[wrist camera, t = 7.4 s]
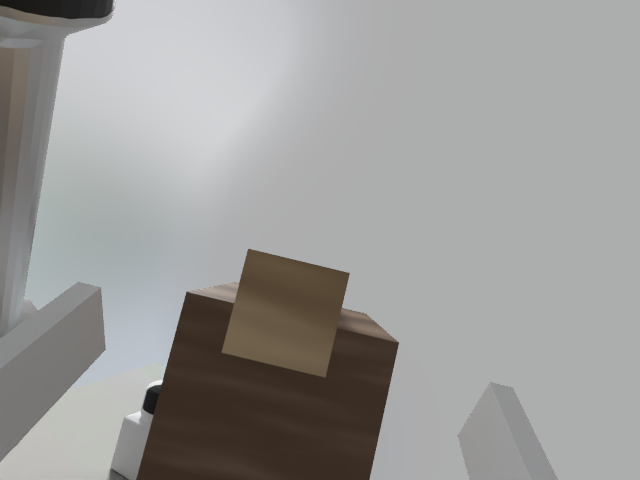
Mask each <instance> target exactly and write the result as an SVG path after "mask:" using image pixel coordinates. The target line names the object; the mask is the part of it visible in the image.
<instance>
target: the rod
mask: <svg viewBox="0 0 640 480" xmlns="http://www.w3.org/2000/svg"><path fill="white" fill-rule="evenodd" d="M348 278H349V273H346V272H343V271H339V270H334V269H330V268H326V267H322V266H318V265H314V264H309V263H305V262H301V261H297V260H293V259H289V258H284V257H280V256H276V255H272V254H268V253H264V252H259V251H255V250H251V249H248V252H247V256H246V260H245V263H244V267H243V271H242V275H241V279H240V283H239V287H238V291H237V295H236V298H235V302H234V306H233V310H232V314H231V318H230V322H229V326H228V330H227V333H226V337H225V341H224V345H223V349H222V353H225V354H230V355H234V356H238V357H242V358H246V359H250V360H255V361H259V362H263V363H267V364H271V365H275V366H280V367H284V368H288V369H292V370H296V371H300V372H305V373H309V374H313V375H317V376H321V377H326V373H327V369H328V364H329V360H330V356H331V351H332V347H333V343H334V339H335V334H336V330H337V326H338V321H339V317H340V313H341V308H342V304H343V300H344V295H345V291H346V287H347V282H348Z"/></svg>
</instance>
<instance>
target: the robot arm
mask: <svg viewBox="0 0 640 480" xmlns="http://www.w3.org/2000/svg"><path fill="white" fill-rule="evenodd" d="M115 4H116V0H0V462H1V461H2V460H3V458H4V457H5V456H6V455H7V454H8V453H9V452H10V451H11V450H12V449H13V448H14V447H15V446H16V445H17V444H18V443H19V442H20V441H21V440H22V438H23V437H24V436H25V435H26V434H27V433H28V432H29V431H30V430H31V429H32V428H33V426H34V425H35V424H36V423H37V422H38V421H39V420H40V419H41V418H42V417H43V416H44V415H45V414H46V413H47V411H48V410H49V409H50V408H51V407H52V406H53V405H54V404H55V403H56V402H57V401H58V400H59V399H60V398H61V397H62V395H63V394H64V393H65V392H66V391H67V390H68V389H69V388H70V387H71V386H72V385H73V384H74V383H75V382H76V381H77V379H78V378H79V377H80V376H81V375H82V374H83V373H84V372H85V371H86V370H87V369H88V368H89V367H90V365H91V364H92V363H93V362H94V361H95V360H96V359H97V358H98V357H99V356H100V355H101V354H102V353H103V352H104V351H105V336H104V324H103V323H104V322H103V309H102V296H101V287H97V286H93V285H89V284H84V283H80V282H77V283H76V284H75V285H73V286H72V287H71V288H69V289H68V290H66V291H65V292H64V293H62V294H61V295H60V296H58V297H57V298H55V299H54V300H53V301H51V302H50V303H49V304H47V305H46V306H44V307H43V308H42V309H40V310H39V311H37V309H36V307H35V306H34V305H33V303H32V302H31V301H30V300H29V299H28V298H27V297H26V296H25V295H24V294H25V287H26V281H27V274H28V268H29V262H30V256H31V249H32V243H33V237H34V230H35V224H36V218H37V211H38V205H39V199H40V192H41V186H42V179H43V173H44V166H45V160H46V154H47V148H48V141H49V135H50V129H51V122H52V116H53V110H54V103H55V97H56V90H57V84H58V78H59V72H60V65H61V58H62V52H63V46H64V40H65V38H66V36H67V35H69V34H72V33H75V32H78V31H81V30H84V29H88V28H91V27H94V26H97V25H101V24H104V23H106V22H107V21H109V20H110V19H111V18H112V16H113V13H114V9H115ZM458 438H459V442H460V446H461V449H462V453H463V457H464V460H465V464H466V467H467V471H468V475H469V479H470V480H558V479H557V477H556V475H555V473H554V471H553V469H552V467H551V465H550V463H549V461H548V459H547V457H546V455H545V453H544V451H543V449H542V447H541V444H540V442H539V440H538V438H537V436H536V434H535V432H534V430H533V428H532V426H531V424H530V422H529V420H528V418H527V416H526V414H525V412H524V410H523V408H522V406H521V404H520V402H519V400H518V397H517V396H516V393H515V391H514V389H513V388H512V387H508V386H503V385H500V384H495V383H491V382H490V383H489V384H488V386H487V388H486V390H485V391H484V393H483V395H482V396H481V398H480V399H479V401H478V403H477V405H476V406H475V408H474V409H473V411H472V413H471V414H470V416H469V418H468V419H467V421H466V423H465V424H464V426H463V428H462V429H461V431H460V433H459V434H458Z"/></svg>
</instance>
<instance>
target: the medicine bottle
mask: <svg viewBox="0 0 640 480" xmlns="http://www.w3.org/2000/svg"><path fill="white" fill-rule="evenodd" d="M162 382H163V380H158V381H155V382H152V383H151V384H149V385H148V386H147V389H146V393H145V397H144V400H143V404H142V408H141V411H140V412H137V413H134V414H131V415H128V416H126V417H124V420H123V423H122V427H121V430H120V434H119V438H118V441H117V445H116V449H115V452H114V456H113V460H112V463H111V468H112V469H113V470H115V471H116V472H118V473H119V474H121V475H122V476H124V477H126V478H127V479H129V480H136V478H137V475H138V471H139V467H140V463H141V460H142V456H143V452H144V449H145V445H146V441H147V437H148V434H149V430H150V426H151V422H152V419H153V415H154V411H155V408H156V404H157V400H158V396H159V393H160V389H161V385H162Z"/></svg>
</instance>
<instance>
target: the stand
mask: <svg viewBox="0 0 640 480" xmlns="http://www.w3.org/2000/svg"><path fill="white" fill-rule="evenodd" d="M238 287H239V283H230V284H225V285H219V286H214V287H209V288H204V289H198V290H193V291H188V292H186V296H185V300H184V303H183V307H182V311H181V315H180V318H179V322H178V326H177V330H176V333H175V337H174V341H173V344H172V348H171V352H170V356H169V359H168V363H167V367H166V370H165V374H164V378H163V382H162V385H161V389H160V393H159V396H158V400H157V404H156V408H155V411H154V415H153V419H152V422H151V426H150V430H149V434H148V437H147V441H146V445H145V449H144V452H143V456H142V460H141V463H140V467H139V471H138V475H137V478H136V480H369V479H370V474H371V469H372V465H373V460H374V455H375V451H376V446H377V442H378V436H379V432H380V428H381V422H382V418H383V413H384V408H385V405H386V400H387V395H388V391H389V386H390V381H391V377H392V372H393V368H394V363H395V358H396V354H397V349H398V344H399V342H397V341H396V340H395V339H394V338H393V337H392V336H390V335H389V334H388V333H387V332H386V331H385V330H384V329H383V328H381V327H380V326H379V325H378V324H377V323H376V322H375V321H373V320H372V319H371V318H370V317H369V316H368V315H367V314H364V313H360V312H356V311H352V310H348V309H344V308H341V313H340V317H339V321H338V326H337V330H336V334H335V339H334V343H333V347H332V351H331V356H330V360H329V364H328V369H327V373H326V377H321V376H317V375H313V374H309V373H305V372H300V371H296V370H292V369H288V368H284V367H280V366H275V365H271V364H267V363H263V362H259V361H255V360H250V359H246V358H242V357H238V356H234V355H230V354H225V353H222V349H223V345H224V341H225V337H226V333H227V330H228V326H229V322H230V318H231V314H232V310H233V306H234V302H235V298H236V295H237V291H238Z"/></svg>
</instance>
